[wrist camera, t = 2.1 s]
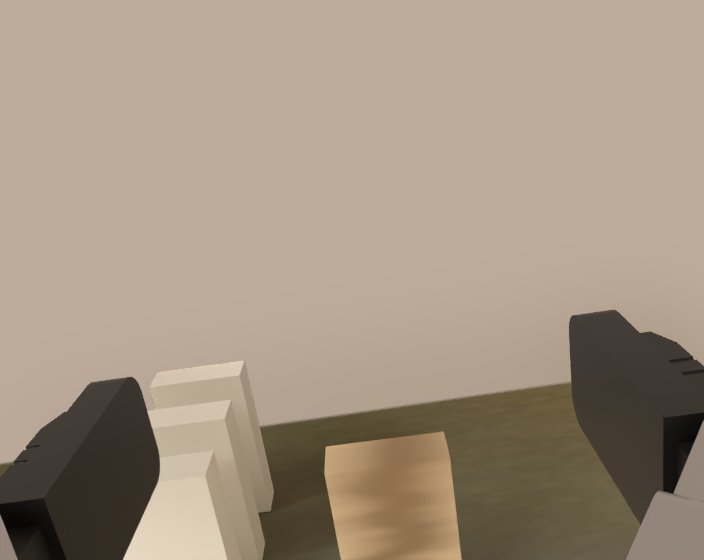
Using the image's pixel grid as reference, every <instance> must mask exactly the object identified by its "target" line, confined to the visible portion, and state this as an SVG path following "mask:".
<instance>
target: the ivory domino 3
mask: <svg viewBox="0 0 704 560" xmlns="http://www.w3.org/2000/svg"><path fill="white" fill-rule="evenodd" d="M123 560H242V559H241V555H240V551H239V547H238V543H237V539H236V536H235V532H234V528H233V524H232V520H231V516H230V512H229V508H228V504H227V500H226V496H225V492H224V488H223V485H222V481H221V477H220V473H219V469H218V465H217V461H216V457H215V453H214V451H206V452H198V453H190V454H183V455H175V456H167V457H160V474H159V479H158V483H157V485H156V488H155V490H154V492H153V494H152V496H151V499H150V501H149V503H148V505H147V508H146V510H145V512H144V514H143V516H142V519H141V521H140V523H139V525H138V528H137V530H136V532H135V534H134V536H133V539H132V541H131V543H130V545H129V547H128V550H127V552H126V554H125V556H124V559H123Z"/></svg>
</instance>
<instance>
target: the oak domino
mask: <svg viewBox="0 0 704 560" xmlns="http://www.w3.org/2000/svg"><path fill="white" fill-rule="evenodd" d="M324 474H325V479H326V484H327V489H328V495H329V500H330V505H331V510H332V515H333V521H334V526H335V531H336V536H337V542H338V547H339V552H340V557H341V560H462V559H461V550H460V541H459V533H458V524H457V515H456V506H455V497H454V489H453V480H452V471H451V462H450V455H449V451H448V447H447V443H446V439H445V435H444V432H436V433H428V434H420V435H412V436H405V437H397V438H389V439H381V440H373V441H366V442H358V443H350V444H342V445H334V446H327V447H326V453H325V470H324Z"/></svg>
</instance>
